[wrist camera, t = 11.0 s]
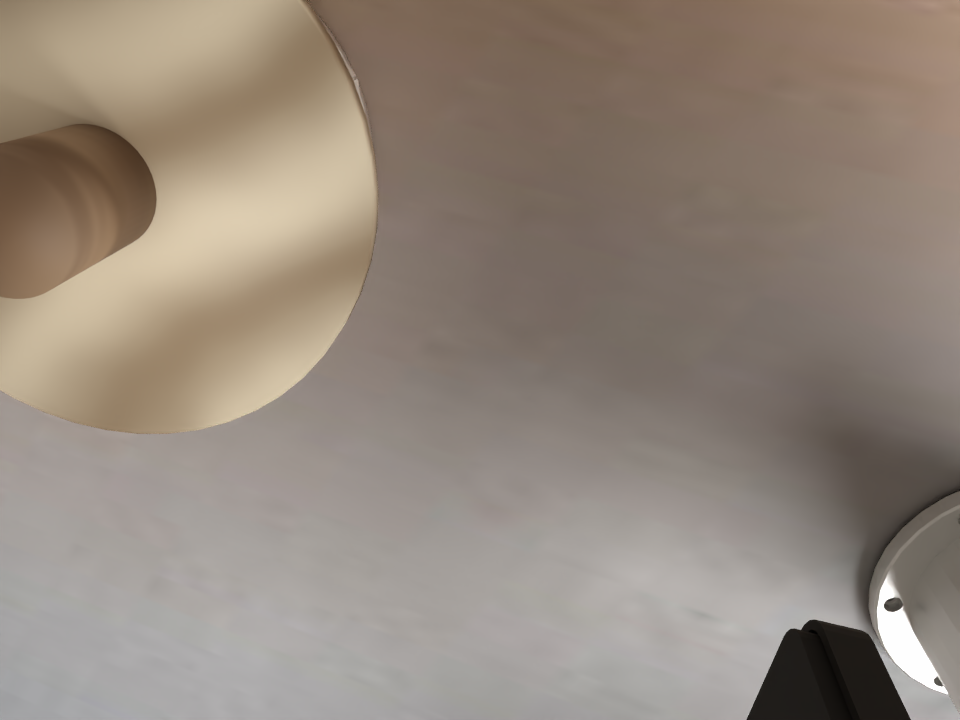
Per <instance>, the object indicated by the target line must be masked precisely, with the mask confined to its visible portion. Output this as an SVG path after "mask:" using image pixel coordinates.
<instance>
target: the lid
mask: <svg viewBox="0 0 960 720" xmlns="http://www.w3.org/2000/svg"><path fill="white" fill-rule="evenodd" d="M377 220H378V182H377V171H376V160H375V153H374V149H373V144H372V140H371V135H370V131H369V126H368V122H367V117H366V115H365V112H364V109H363V106H362V103H361V100H360V98H359V95H358V92H357V89H356V86H355V83H354V81H353V78H352V76H351V74H350V72H349V70H348V68H347V66H346V64H345V62H344V60H343V58H342V56H341V54H340V52H339V50H338V48H337V46H336V44H335V42H334V41H333V39H332V38H331V36H330V35H329V33H328V32H327V30H326V28H325V27H324V25H323V24H322V22H321V21H320V19H319V18H318V16H317V15H316V13H315V12H314V10H313V8H312V7H311V6H310V5H309V3H308V2H307V1H306V0H0V390H1V391H3V392H4V393H6V394H8V395H9V396H11V397H13V398H15V399H17V400H19V401H21V402H23V403H26V404H28V405H30V406H32V407H34V408H36V409H38V410H41V411H43V412H45V413H48V414H51V415H54V416H57V417H60V418H63V419H66V420H68V421H71V422H74V423H78V424H83V425H87V426H91V427H96V428H100V429H104V430H111V431H119V432H128V433H136V434H169V433H178V432H186V431H194V430H200V429H204V428H208V427H212V426H216V425H220V424H223V423H227V422H230V421H232V420H235V419H237V418H240V417H242V416H244V415H247V414H249V413H252V412H254V411H256V410H258V409H259V408H261V407H263V406H265V405H266V404H268V403H270V402H271V401H273V400H275V399H277V398H278V397H280V396H281V395H283V394H284V393H285V392H286V391H288V390H289V389H290V388H291V387H293V386H294V385H295V384H296V383H298V382H299V381H300V380H301V379H303V378H304V377H305V376H306V374H307V373H308V372H309V371H310V370H311V369H312V368H313V367H314V366H315V365H316V364H317V363H318V362H319V360H320V359H321V358H322V357H323V356H324V355H325V353H326V352H327V350H328V349H329V347H330V346H331V345H332V343H333V342H334V340H335V339H336V337H337V336H338V334H339V333H340V331H341V330H342V328H343V327H344V325H345V324H346V322H347V320H348V319H349V317H350V315H351V312H352V310H353V308H354V306H355V304H356V302H357V300H358V298H359V296H360V294H361V292H362V289H363V286H364V283H365V280H366V276H367V273H368V270H369V267H370V264H371V261H372V255H373V249H374V243H375V238H376V232H377Z"/></svg>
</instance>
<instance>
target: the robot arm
mask: <svg viewBox="0 0 960 720" xmlns="http://www.w3.org/2000/svg"><path fill="white" fill-rule="evenodd" d="M869 612H870V616H871V621H872V625H873V628H874V630H875V632H876V634H877V636H878V638H879V640H880V642H881V644H882V646H883V648H884V649H885V651H886V652H887V654H888V655H889V657H890V658H891V660H892V661H893V663H895V664H896V665H897V666H898V667H899V668H900V669H901V670H902V671H903V672H904V673H906V674H907V675H908V676H909V677H911V678H912V679H914V680H916V681H918V682H919V683H921V684H923V685H924V686H926V687H928V688H931V689H934V690H936V691H939V692H942V693H945V694H947V695H949V697H950V698H951V700H952V702H953V704H954V705H955V707H956V709H957V711H958V712H959V714H960V491H958V492H956V493H954V494H951V495H949V496H947V497H945V498H943V499H941V500H940V501H938V502H936V503H935V504H933V505H932V506H930V507H928V508H927V509H925V510H924V511H922V512H921V513H919V514H918V515H917V516H916V517H915V518H914V519H912V520H911V521H910V522H909V523H908V524H907V525H905V526H904V527H903V528H902V529H901V530H900V531H899V533H898V534H897V535H896V536H895V537H894V539H893V540H892V541H891V542H890V543H889V545H888V546H887V547H886V549H885V550H884V552H883V554H882V556H881V558H880V560H879V561H878V563H877V565H876V567H875V570H874V573H873V577H872V580H871V584H870V587H869ZM747 720H911V719H910V717H909V715H908V713H907V711H906V709H905V707H904V705H903V703H902V701H901V699H900V696H899V694H898V692H897V690H896V688H895V686H894V684H893V682H892V680H891V678H890V676H889V673H888V671H887V669H886V667H885V665H884V663H883V661H882V659H881V657H880V655H879V653H878V651H877V648H876V646H875V644H874V642H873V640H872V639H871V637H870V636H869V635H868V634H867V633H865V632H864V631H861V630H857V629H853V628H848V627H844V626H840V625H835V624H831V623H827V622H823V621H818V620H809V621H808V622H807V623H806V624H805V625H804V626H803V628H802V630H798V629H790V630H789V631H788V632H786V634H785V636H784V638H783V640H782V642H781V644H780V646H779V649H778V651H777V653H776V655H775V657H774V660H773V662H772V664H771V666H770V669H769V671H768V673H767V675H766V678H765V680H764V682H763V684H762V686H761V689H760V691H759V693H758V695H757V698H756V700H755V702H754V704H753V707H752V709H751V711H750V713H749V715H748V718H747Z"/></svg>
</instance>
